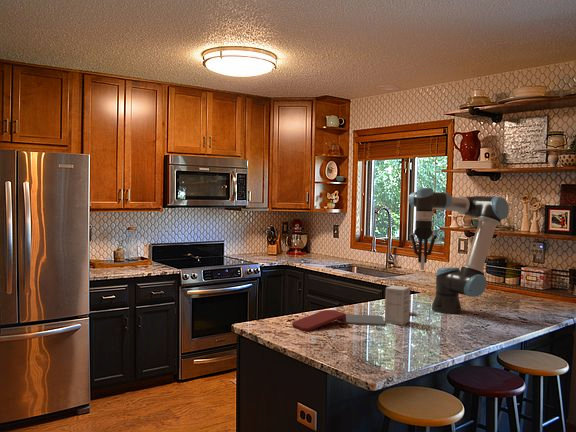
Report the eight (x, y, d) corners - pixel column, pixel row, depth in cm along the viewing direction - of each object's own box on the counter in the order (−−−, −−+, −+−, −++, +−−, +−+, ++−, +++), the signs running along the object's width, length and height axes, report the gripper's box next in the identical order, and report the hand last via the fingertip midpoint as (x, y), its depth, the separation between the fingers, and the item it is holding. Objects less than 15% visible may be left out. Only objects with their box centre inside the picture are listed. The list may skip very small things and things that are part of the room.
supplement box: (409, 321, 252) (411, 287, 252) (403, 325, 244) (404, 289, 244) (391, 318, 257) (392, 284, 257) (384, 322, 250) (385, 287, 249)
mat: (342, 315, 261) (342, 314, 261) (381, 317, 259) (381, 315, 259) (343, 323, 245) (343, 322, 245) (385, 325, 243) (385, 323, 243)
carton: (306, 339, 229) (349, 322, 243) (305, 329, 229) (348, 312, 242) (291, 333, 239) (332, 316, 253) (289, 322, 239) (331, 307, 252)
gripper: (411, 220, 245) (409, 270, 246) (439, 221, 244) (437, 271, 245) (408, 219, 252) (406, 267, 253) (436, 220, 251) (434, 268, 252)
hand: (421, 269), depth 249 cm, fingers closed
